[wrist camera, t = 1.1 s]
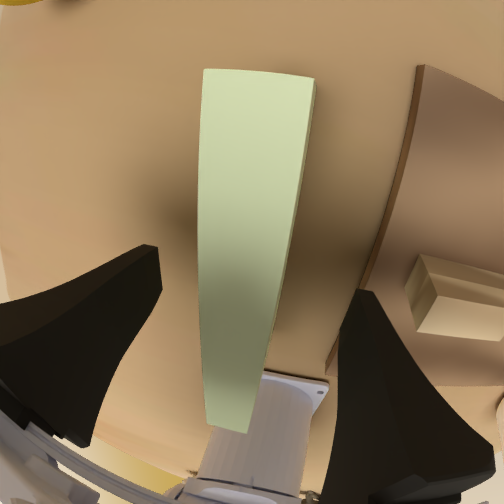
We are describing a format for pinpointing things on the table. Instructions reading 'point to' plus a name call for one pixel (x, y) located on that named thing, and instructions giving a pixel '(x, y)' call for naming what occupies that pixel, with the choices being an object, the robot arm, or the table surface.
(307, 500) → the dog figurine
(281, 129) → the slotted plate
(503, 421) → the cup
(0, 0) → the lemon
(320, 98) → the table surface
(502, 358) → the base
